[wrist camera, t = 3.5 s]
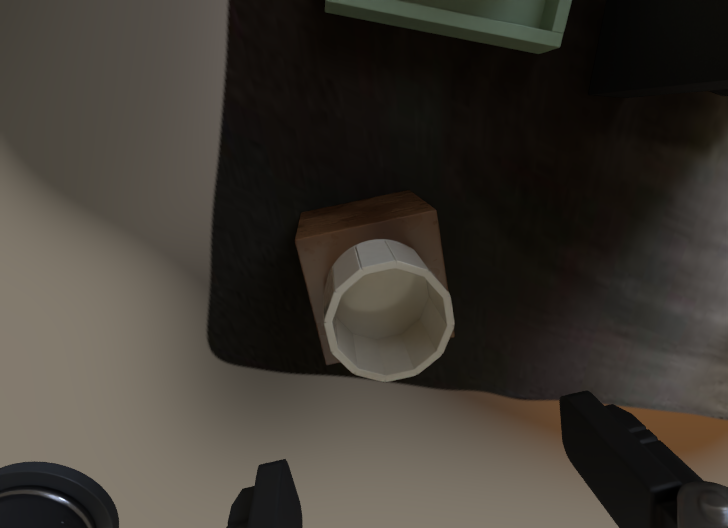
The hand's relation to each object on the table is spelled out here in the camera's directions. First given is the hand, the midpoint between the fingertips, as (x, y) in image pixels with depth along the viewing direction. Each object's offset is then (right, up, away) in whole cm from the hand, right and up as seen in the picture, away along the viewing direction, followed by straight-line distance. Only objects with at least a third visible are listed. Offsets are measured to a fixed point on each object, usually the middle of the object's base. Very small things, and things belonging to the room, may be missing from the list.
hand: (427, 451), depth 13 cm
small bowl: (-1, +4, +13) cm, 14 cm away
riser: (-2, +6, +21) cm, 22 cm away
